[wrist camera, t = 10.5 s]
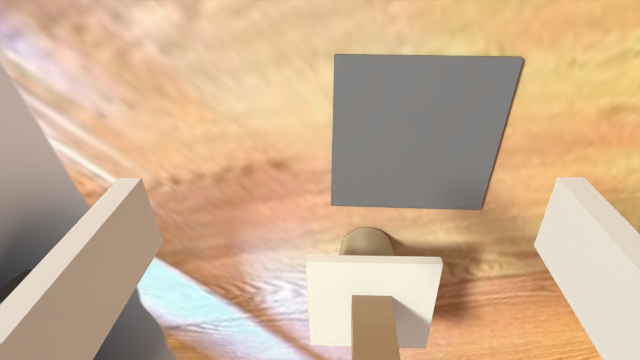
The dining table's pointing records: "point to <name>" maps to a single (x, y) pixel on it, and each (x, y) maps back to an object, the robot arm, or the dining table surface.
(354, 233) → the flower pot
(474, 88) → the mat
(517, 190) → the dining table surface
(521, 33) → the dining table surface
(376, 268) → the lid
